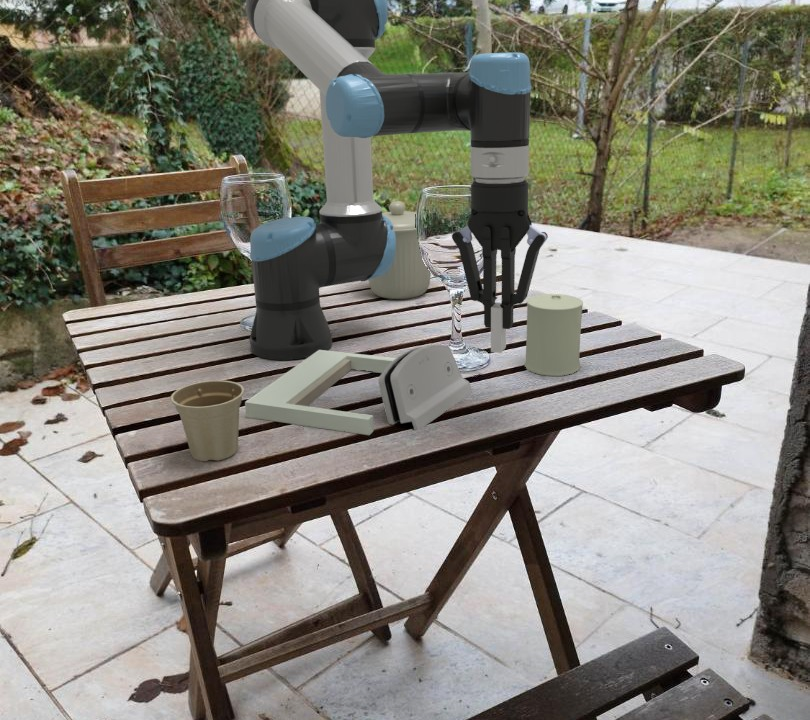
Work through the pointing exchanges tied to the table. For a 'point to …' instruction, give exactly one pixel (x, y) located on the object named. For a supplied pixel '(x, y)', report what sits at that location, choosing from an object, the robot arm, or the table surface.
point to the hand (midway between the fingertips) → (498, 349)
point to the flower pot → (210, 417)
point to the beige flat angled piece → (315, 392)
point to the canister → (403, 259)
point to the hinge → (422, 385)
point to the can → (553, 334)
